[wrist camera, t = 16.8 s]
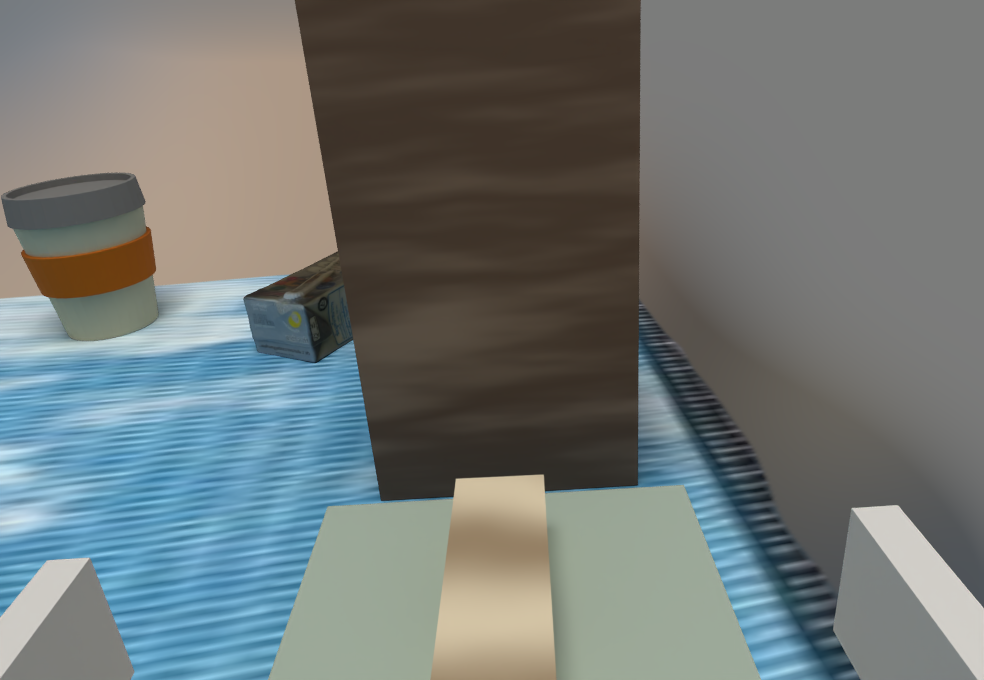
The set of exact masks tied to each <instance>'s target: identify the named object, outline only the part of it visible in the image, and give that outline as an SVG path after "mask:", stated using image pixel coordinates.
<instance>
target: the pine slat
mask: <svg viewBox="0 0 984 680" xmlns="http://www.w3.org/2000/svg"><path fill="white" fill-rule="evenodd" d="M430 680H556V664H555V648H554V632H553V615H552V599H551V583H550V567H549V551H548V535H547V519H546V503H545V487H544V475H524V476H504V477H483V478H462V479H456V482H455V490H454V498H453V506H452V514H451V522H450V530H449V538H448V545H447V553H446V561H445V569H444V577H443V585H442V593H441V600H440V608H439V616H438V624H437V632H436V640H435V648H434V656H433V663H432V671H431V679H430Z"/></svg>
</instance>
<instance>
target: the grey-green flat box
mask: <svg viewBox="0 0 984 680" xmlns="http://www.w3.org/2000/svg"><path fill="white" fill-rule="evenodd" d="M545 503H546V519H547V535H548V551H549V567H550V583H551V599H552V615H553V632H554V648H555V664H556V680H761V678H760V676H759V673H758V671H757V668H756V666H755V663H754V661H753V658H752V656H751V653H750V651H749V648H748V646H747V643H746V641H745V638H744V636H743V633H742V631H741V628H740V626H739V623H738V620H737V618H736V615H735V613H734V610H733V608H732V605H731V603H730V600H729V598H728V595H727V593H726V590H725V588H724V585H723V583H722V580H721V578H720V575H719V573H718V570H717V568H716V565H715V563H714V560H713V558H712V555H711V553H710V550H709V548H708V545H707V542H706V540H705V537H704V535H703V532H702V530H701V527H700V525H699V522H698V520H697V517H696V515H695V512H694V510H693V507H692V505H691V502H690V500H689V497H688V495H687V492H686V490H685V487H684V485H676V486H660V487H643V488H627V489H610V490H594V491H577V492H560V493H545ZM452 506H453V499H445V500H428V501H412V502H395V503H378V504H362V505H345V506H329V507H327V510H326V513H325V516H324V519H323V522H322V525H321V528H320V531H319V533H318V536H317V539H316V542H315V545H314V548H313V551H312V554H311V557H310V560H309V562H308V565H307V568H306V571H305V574H304V577H303V580H302V583H301V586H300V589H299V591H298V594H297V597H296V600H295V603H294V606H293V609H292V612H291V615H290V618H289V620H288V623H287V626H286V629H285V632H284V635H283V638H282V641H281V644H280V647H279V650H278V652H277V655H276V658H275V661H274V664H273V667H272V670H271V673H270V676H269V679H268V680H430V679H431V671H432V663H433V656H434V648H435V640H436V632H437V624H438V616H439V608H440V600H441V593H442V585H443V577H444V569H445V561H446V553H447V545H448V538H449V530H450V522H451V514H452Z"/></svg>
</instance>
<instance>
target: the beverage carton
mask: <svg viewBox="0 0 984 680" xmlns="http://www.w3.org/2000/svg"><path fill="white" fill-rule="evenodd" d="M243 300H244V303H245V307H246V311H247V314H248V318H249V324H250V329H251V332H252V337H253V339H254V341H255V344H256V347H257V351H258V352H259V353H264V354H270V355H276V356H281V357H286V358H292V359H297V360H303V361H308V362H315V363H316V362H318V361H319V360H321V359H322V358H324V357H325V356H327V355H328V354H330V353H331V352H333V351H335V350H336V349H338V348H340V347H341V346H343V345H345V344H346V343H348V342H350V341H351V340H353V335H352V329H351V323H350V317H349V311H348V306H347V300H346V294H345V288H344V282H343V277H342V271H341V265H340V259H339V253H338V252H336V253H334V254H332V255H330V256H328V257H326V258H324V259H322V260H320V261H318V262H316V263H314V264H312V265H310V266H308V267H306V268H304V269H302V270H300V271H298V272H295V273H293V274H291V275H289V276H287V277H285V278H283V279H281V280H279V281H277V282H275V283H273V284H271V285H269V286H267V287H264V288H262V289H259V290H257V291H255V292H253V293H251V294H248V295H246V296H245V297H244V299H243Z"/></svg>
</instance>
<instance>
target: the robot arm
mask: <svg viewBox="0 0 984 680" xmlns="http://www.w3.org/2000/svg"><path fill="white" fill-rule="evenodd" d="M833 631H834V633H835V634H836V636H837V638H838V640H839V642H840V643H841V645H842V647H843V649H844V650H845V652H846V654H847V656H848V658H849V659H850V661H851V663H852V665H853V667H854V668H855V670H856V672H857V674H858V676H859V677H860V679H861V680H984V608H983V607H982V606H981V605H980V603H979V602H978V601H977V600H976V599H975V597H974V596H973V595H972V594H971V593H970V591H969V590H968V589H967V588H966V587H965V586H964V584H963V583H962V582H961V581H960V579H959V578H958V577H957V576H956V575H955V573H954V572H953V571H952V570H951V569H950V567H948V565H947V564H946V563H945V561H944V560H943V559H942V558H941V557H940V555H939V554H938V553H937V552H936V551H935V549H934V548H933V547H932V546H931V545H930V543H929V542H928V541H927V540H926V539H925V537H924V536H923V535H922V534H921V533H920V531H919V530H918V529H917V528H916V527H915V525H914V524H913V523H912V522H911V521H910V520H909V518H908V517H907V516H906V515H905V513H904V512H903V511H902V510H901V509H900V507H899V506H897V505H894V506H879V507H864V508H852V509H851V516H850V522H849V529H848V536H847V542H846V549H845V556H844V562H843V568H842V575H841V582H840V588H839V595H838V601H837V608H836V614H835V621H834V628H833ZM133 674H134V669H133V667H132V664H131V662H130V659H129V657H128V654H127V651H126V649H125V646H124V644H123V641H122V639H121V636H120V633H119V631H118V628H117V626H116V623H115V621H114V618H113V616H112V613H111V610H110V608H109V605H108V603H107V600H106V598H105V595H104V592H103V590H102V587H101V585H100V582H99V580H98V577H97V575H96V572H95V569H94V567H93V564H92V562H91V559H90V558H78V559H63V560H47V561H46V562H45V564H44V565H43V566H42V567H41V569H40V570H39V571H38V572H37V573H36V575H35V576H34V577H33V578H32V580H31V581H30V582H29V583H28V584H27V586H26V587H25V588H24V589H23V591H22V592H21V593H20V594H19V595H18V597H17V598H16V599H15V600H14V602H13V603H12V604H11V605H10V606H9V608H8V609H7V610H6V611H5V613H4V614H3V615H2V616H1V617H0V680H130V679H131V677H132V675H133Z"/></svg>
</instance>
